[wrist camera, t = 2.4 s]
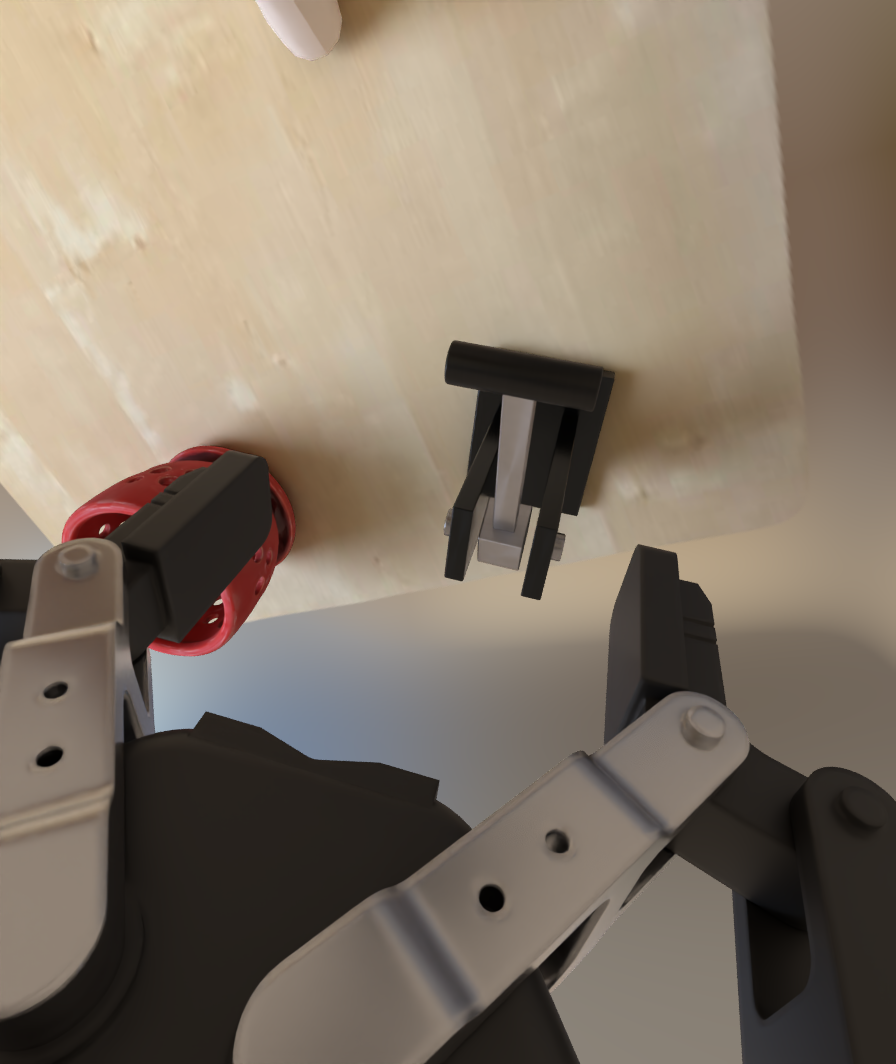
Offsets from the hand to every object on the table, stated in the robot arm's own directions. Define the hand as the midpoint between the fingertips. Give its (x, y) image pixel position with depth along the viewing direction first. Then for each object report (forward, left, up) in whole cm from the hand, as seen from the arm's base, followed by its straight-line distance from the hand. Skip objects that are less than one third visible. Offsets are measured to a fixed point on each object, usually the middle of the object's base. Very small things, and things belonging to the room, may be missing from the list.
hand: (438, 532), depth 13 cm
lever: (+3, +4, -13) cm, 14 cm away
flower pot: (+31, +4, -27) cm, 41 cm away
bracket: (+6, +9, -27) cm, 29 cm away
